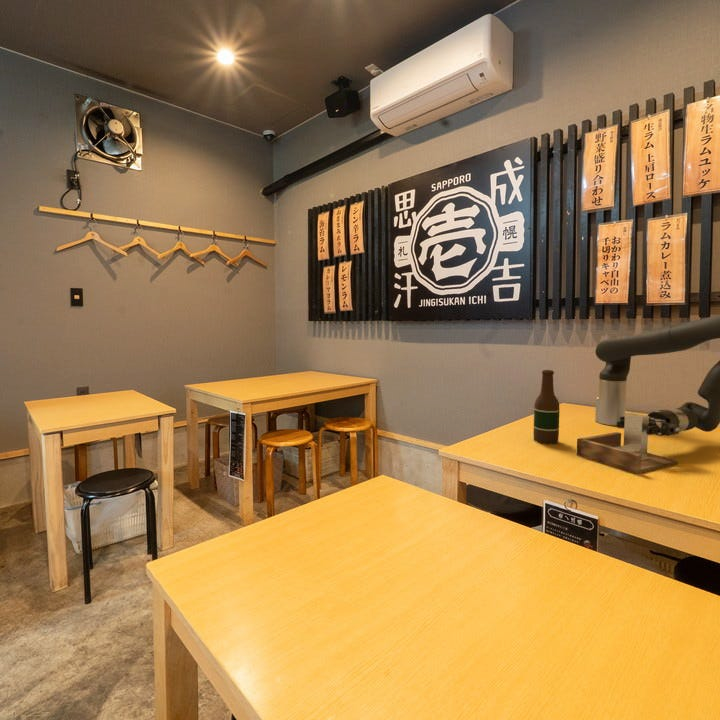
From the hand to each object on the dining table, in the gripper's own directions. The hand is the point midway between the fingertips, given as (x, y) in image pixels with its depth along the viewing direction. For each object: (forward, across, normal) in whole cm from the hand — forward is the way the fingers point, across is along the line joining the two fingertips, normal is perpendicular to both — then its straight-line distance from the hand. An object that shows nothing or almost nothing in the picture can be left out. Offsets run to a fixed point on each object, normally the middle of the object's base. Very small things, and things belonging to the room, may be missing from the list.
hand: (632, 427), depth 123 cm
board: (+1, -1, +10) cm, 10 cm away
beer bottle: (+6, -25, +10) cm, 27 cm away
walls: (+1, -1, +10) cm, 10 cm away
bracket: (+2, 0, +8) cm, 9 cm away
